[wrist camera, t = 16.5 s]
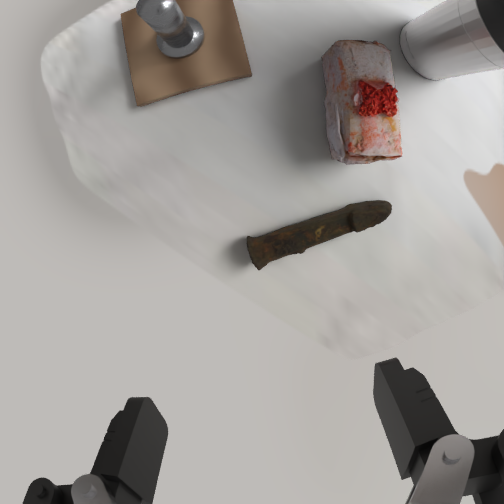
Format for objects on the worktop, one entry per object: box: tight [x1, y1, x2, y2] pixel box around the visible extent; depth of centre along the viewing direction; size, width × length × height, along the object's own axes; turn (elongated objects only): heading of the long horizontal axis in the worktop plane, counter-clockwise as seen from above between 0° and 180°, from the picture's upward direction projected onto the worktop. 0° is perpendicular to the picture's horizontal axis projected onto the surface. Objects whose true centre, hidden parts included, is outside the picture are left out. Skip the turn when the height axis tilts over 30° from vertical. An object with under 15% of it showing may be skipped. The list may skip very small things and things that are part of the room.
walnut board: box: [121, 0, 252, 107], centre depth 29 cm, size 14×14×2 cm
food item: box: [321, 40, 402, 165], centre depth 28 cm, size 14×8×10 cm, turn 8°
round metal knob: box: [136, 0, 205, 59], centre depth 24 cm, size 6×6×11 cm
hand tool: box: [247, 200, 392, 270], centre depth 37 cm, size 19×4×5 cm, turn 109°
